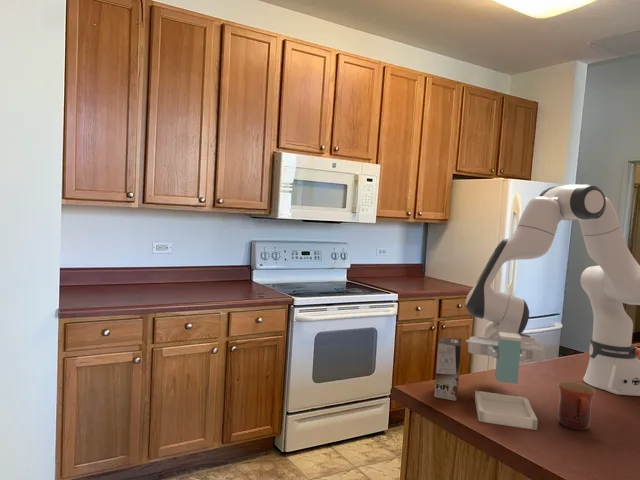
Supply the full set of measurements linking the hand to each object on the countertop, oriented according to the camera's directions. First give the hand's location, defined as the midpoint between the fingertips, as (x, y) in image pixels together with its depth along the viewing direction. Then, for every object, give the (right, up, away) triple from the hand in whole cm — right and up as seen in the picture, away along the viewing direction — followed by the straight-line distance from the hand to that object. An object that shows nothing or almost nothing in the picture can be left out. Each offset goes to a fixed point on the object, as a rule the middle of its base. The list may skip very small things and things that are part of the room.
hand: (508, 356), depth 130 cm
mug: (+15, -17, -5) cm, 24 cm away
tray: (-1, -16, +2) cm, 16 cm away
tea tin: (0, -6, +1) cm, 7 cm away
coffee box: (-13, -15, +14) cm, 24 cm away
